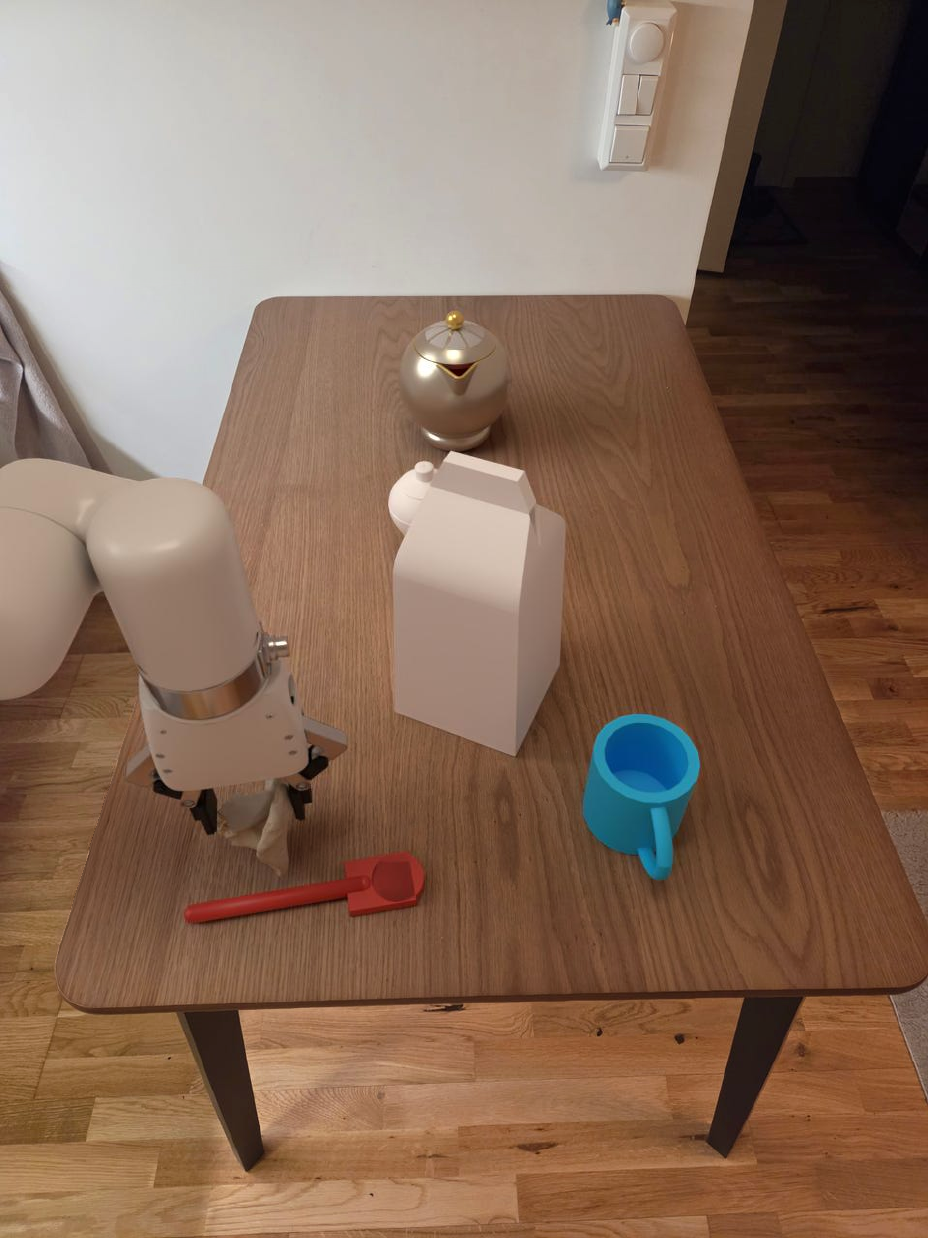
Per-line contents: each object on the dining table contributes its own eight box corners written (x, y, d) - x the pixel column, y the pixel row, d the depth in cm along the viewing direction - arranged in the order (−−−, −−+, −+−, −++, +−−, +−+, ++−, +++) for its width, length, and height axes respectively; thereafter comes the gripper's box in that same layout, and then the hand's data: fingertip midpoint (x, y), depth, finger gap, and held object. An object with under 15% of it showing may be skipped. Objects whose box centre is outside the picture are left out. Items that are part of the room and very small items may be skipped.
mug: (573, 773, 75) (583, 718, 69) (665, 764, 75) (682, 709, 69) (604, 905, 67) (618, 856, 61) (706, 894, 67) (730, 844, 61)
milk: (394, 712, 79) (372, 490, 60) (447, 627, 86) (442, 405, 67) (515, 757, 76) (532, 537, 57) (559, 665, 83) (588, 442, 64)
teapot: (515, 467, 104) (522, 343, 92) (403, 472, 103) (395, 348, 91) (500, 385, 116) (504, 266, 104) (399, 389, 115) (392, 270, 103)
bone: (212, 779, 71) (255, 723, 65) (285, 796, 74) (333, 743, 67) (194, 879, 66) (239, 829, 59) (274, 893, 68) (325, 847, 62)
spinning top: (391, 533, 96) (384, 444, 87) (460, 529, 96) (460, 441, 88) (393, 581, 91) (385, 492, 82) (465, 577, 91) (465, 488, 82)
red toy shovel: (185, 945, 65) (180, 938, 64) (187, 893, 67) (183, 885, 66) (428, 903, 67) (427, 895, 66) (420, 854, 70) (420, 846, 69)
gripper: (340, 601, 57) (363, 754, 70) (68, 636, 55) (145, 787, 68) (350, 690, 52) (373, 836, 65) (51, 732, 50) (138, 874, 63)
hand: (256, 810), depth 66 cm, fingers closed on bone, 6 cm apart
